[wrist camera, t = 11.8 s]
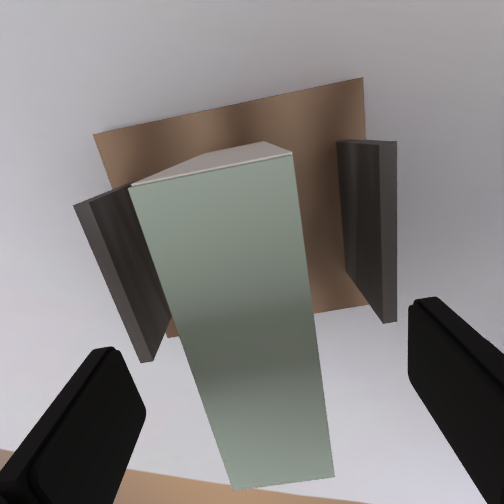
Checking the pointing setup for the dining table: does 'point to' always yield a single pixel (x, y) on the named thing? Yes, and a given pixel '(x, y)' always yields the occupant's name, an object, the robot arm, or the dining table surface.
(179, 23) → the dining table surface
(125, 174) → the bookshelf board
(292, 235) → the book
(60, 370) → the dining table surface
